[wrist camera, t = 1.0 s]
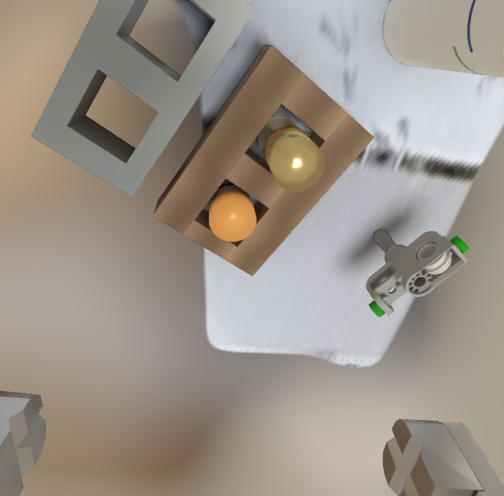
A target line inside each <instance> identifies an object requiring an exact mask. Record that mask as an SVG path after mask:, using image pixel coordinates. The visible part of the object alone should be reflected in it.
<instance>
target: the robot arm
mask: <svg viewBox="0 0 504 496" xmlns="http://www.w3.org/2000/svg"><path fill="white" fill-rule="evenodd" d="M42 407H43V404H42V400H41V396H40V395H36V394H26V393H16V392H6V391H0V496H19V495H20V493H21V491H22V490H23V487H24V486H23V481H22V476H23V475H24V474H25V473H26V472H28V471H29V470H30V469H31V468H33V467H34V466H35V464H36V462H37V460H38V458H39V456H40V454H41V452H42V449H43V445H44V442H45V439H46V422H45V420H44V419H43V418H42V417H41V416H40V415H39V412H40V410H41V408H42ZM392 431H393V434H394V436H395V437H394V438H392V439H391V440H389V441H388V442H386V445H385V448H384V451H383V469H384V474H385V477H386V480H387V483H388V486H389V487H390V488H391V489H392V490H393V491H394V492H395V493H396V494H397V495H398V496H504V485H503V484H502V482H501V480H500V479H499V477H498V475H497V474H496V472H495V470H494V469H493V467H492V466H491V464H490V463H489V461H488V459H487V458H486V456H485V455H484V453H483V451H482V450H481V448H480V447H479V445H478V444H477V442H476V440H475V439H474V437H473V436H472V434H471V432H470V431H469V429H468V428H467V427H466V426H465V425H464V424H463V423H454V422H439V421H428V420H410V419H399V420H397V421H396V422H395V424H394V426H393V428H392Z"/></svg>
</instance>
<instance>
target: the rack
mask: <svg viewBox="0 0 504 496" xmlns="http://www.w3.org/2000/svg"><path fill="white" fill-rule="evenodd" d="M189 1H190V2H191V3H192V4H194V5H195V6H196V7H197V8H198V9H199V10H200V11H202V12H203V13H204V14H205V15H206V16H207V17H208V18H210V19H211V20H212V21H213V22H214V24H213V26H212V28H211V29H210V31H209V32H208V34H207V36H206V37H205V39H204V40H203V42H202V44H201V45H200V47H199V48H198V50H197V52H196V53H195V55H194V56H193V58H192V60H191V61H190V63H189V65H188V66H187V68H186V69H185V71H184V72H183V74H182V75H181V76H180V75H179V74H177V73H176V72H175V71H174V70H172V69H171V68H170V67H168V66H167V65H166V64H165V63H163V62H162V61H161V60H159V59H158V58H157V57H155V56H154V55H153V54H152V53H150V52H149V51H148V50H146V49H145V48H144V47H143V46H141V45H140V44H139V43H138V42H136V41H135V40H134V39H132V38H131V37H130V36H129V35H130V33H131V31H132V29H133V28H134V26H135V24H136V22H137V20H138V19H139V17H140V15H141V13H142V11H143V9H144V7H145V6H146V4H147V2H148V0H99V2H98V4H97V6H96V8H95V10H94V12H93V14H92V16H91V18H90V20H89V22H88V24H87V26H86V28H85V30H84V32H83V34H82V36H81V38H80V40H79V42H78V44H77V46H76V48H75V50H74V52H73V54H72V56H71V58H70V59H69V61H68V64H67V65H66V67H65V70H64V72H63V73H62V76H61V77H60V79H59V82H58V83H57V86H56V87H55V89H54V91H53V93H52V95H51V97H50V99H49V101H48V103H47V105H46V107H45V109H44V111H43V113H42V115H41V117H40V119H39V121H38V123H37V125H36V127H35V129H34V131H33V133H32V135H31V137H33V138H35V139H36V140H38V141H40V142H41V143H43V144H45V145H46V146H48V147H50V148H51V149H53V150H55V151H56V152H58V153H59V154H61V155H63V156H64V157H66V158H68V159H69V160H71V161H73V162H74V163H76V164H78V165H79V166H81V167H82V168H84V169H86V170H87V171H89V172H91V173H92V174H94V175H96V176H97V177H99V178H101V179H102V180H104V181H106V182H107V183H109V184H111V185H112V186H114V187H116V188H117V189H119V190H121V191H122V192H124V193H126V194H127V195H129V196H130V197H133V196H134V194H135V193H136V191H137V189H138V188H139V186H140V185H141V183H142V182H143V180H144V179H145V177H146V176H147V174H148V173H149V171H150V170H151V168H152V167H153V165H154V164H155V162H156V161H157V159H158V157H159V156H160V155H161V153H162V152H163V150H164V148H165V147H166V145H167V144H168V142H169V141H170V139H171V138H172V136H173V135H174V133H175V132H176V130H177V129H178V127H179V126H180V124H181V123H182V121H183V120H184V118H185V116H186V115H187V114H188V112H189V111H190V109H191V107H192V106H193V104H194V103H195V101H196V100H197V98H198V97H199V95H200V94H201V92H202V91H203V89H204V88H205V86H206V85H207V83H208V82H209V80H210V79H211V77H212V76H213V74H214V73H215V71H216V69H217V68H218V66H219V65H220V63H221V62H222V60H223V59H224V57H225V56H226V54H227V53H228V51H229V50H230V48H231V47H232V45H233V44H234V42H235V41H236V39H237V38H238V36H239V35H240V33H241V31H242V30H243V28H244V27H245V25H246V24H247V22H248V21H249V19H250V18H251V16H252V15H253V13H254V12H255V10H256V8H255V7H254V6H253V5H252V4H251V3H249V2H248V1H247V0H189ZM107 76H109V77H110V78H112V79H113V80H114V81H116V82H117V83H118V84H120V85H121V86H123V87H124V88H125V89H127V90H128V91H130V92H131V93H132V94H134V95H135V96H136V97H138V98H139V99H141V100H142V101H143V102H145V103H146V104H148V105H149V106H151V107H152V108H153V109H155V110H156V111H157V112H158V114H157V115H156V117H155V119H154V120H153V122H152V123H151V125H150V127H149V128H148V130H147V131H146V133H145V135H144V136H143V138H142V140H141V141H140V143H139V144H138V146H137V147H136V148H134V147H133V146H131V145H130V144H128V143H126V142H125V141H124V140H122V139H121V138H119V137H117V136H116V135H114V134H113V133H111V132H110V131H108V130H107V129H105V128H104V127H102V126H100V125H99V124H98V123H96V122H95V121H93V120H92V119H90V118H89V117H87V116H86V113H87V111H88V109H89V107H90V105H91V104H92V102H93V100H94V98H95V96H96V95H97V93H98V91H99V89H100V87H101V85H102V84H103V82H104V80H105V78H106V77H107Z"/></svg>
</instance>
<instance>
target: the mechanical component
mask: <svg viewBox="0 0 504 496" xmlns="http://www.w3.org/2000/svg"><path fill="white" fill-rule="evenodd" d="M373 238H374V240H375V241H376V243H377V244H378V245H379V247H380V248H382V250H383V251H384V252H385V261H386V263H387V264H385V265H384V266H383V267H382V268H380V269H379V270H378V271H377V272H375V273H374V274H373V275H372V276H371V277H370V278H369V279H368V281H367V284H366V288H367V290H368V292H369V293H370V295H371V297H372V298H373V300H374V301H373V302H372V303H370V304H369V306H370V308H371V309H372V311H373V312H374V313H375V314H376V315H377V316H378V317H381V316H382V315H383V314H385V313H387V314H388V315H390V314H391V313H392V312H394V309H393V308H392V306H391V305H390V304H392V303H393V302H394V301H396V300H397V299H398V298H399V297H401V296H402V295H403V294H405V293H406V292H407V291H408V292H409V293H410V294H411V295H412V296H414V297H420V296H424V295H426V294H428V293H430V292H431V291H432V290H433V289H434V288H435V287H436V286H437V285H438V284H439V283H441V282H442V281H443V280H445V279H446V278H448V277H449V276H450V275H451V274H452V273H454V272H455V271H457V270H458V269H459V268H461V267H462V266H463V265H465V264H466V263H467V262H468V260H467V259H466V258H465V257H464V256H463V255H462V253H464V252H465V251H467V250H468V249H469V247H468V246H467V245H466V244H465V243H464V242H463V241H462V240H461V239H460V238H458V237H457V236H455V237H454V238H453V239H452V240H451V242H452V243H451V242H450V241H449V240H448V239H447V238H445V237H444V236H441V235H439V234H438V233H437V232H434V231H429V232H426V233H424V234H422V235H421V236H420V237H418V238H417V239H416V240H415V241H414V242H412V243H411V244H410V245H409V246H407V247H406V246H404V245H397V244H396V243H395V242H394V241H393V240H392V238H391V237H390V236H389V235H388V234H387V233H385V231H383V230H381V229H380V230H377V231H375V232H374V234H373ZM460 251H461V252H462V253H461V252H460ZM449 266H450V267H449ZM448 267H449V268H448ZM447 268H448V269H447ZM446 269H447V270H446ZM445 270H446V271H445ZM443 271H445V272H443ZM442 272H443V273H442ZM439 273H441V274H439ZM435 274H436V275H435ZM393 287H395V289H394V291H392V292H388V291H389V290H390V289H391V288H393Z"/></svg>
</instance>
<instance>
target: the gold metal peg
mask: <svg viewBox="0 0 504 496" xmlns="http://www.w3.org/2000/svg"><path fill="white" fill-rule="evenodd" d="M258 143H259V146H260V148H261V150H262V152H263V154H264V157H265V159H266V161H267V163H268V165H269V167H270V169H271V172H272V174H273V176H274V178H275V180H276V182H277V183H278V184H279V185H280V186H281V187H282V188H284V189H286V190H288V191H292V192H301V191H305V190H307V189H309V188H311V187H313V186H314V185H315V184H316V183H317V182H318V181H319V180H320V178H321V176H322V174H323V171H324V167H325V160H324V156H323V153H322V151H321V150H320V148H319V147H318V146H317V145H316V144H315V143H314V142H313V141H312V140H311V139H310V138H309V137H308V136H307V135H306V134H305V133H304V132H303V131H301V130H300V129H299V128H298V127H297V126H296V125H295V124H294V123H293V122H292V121H291V120H290V119H289V118H287V117H284V116H274V117H271V118H270V120H269V121H268V122H267V124H266V125H265V126H264V128H263V129H262V130H261V132H260V133H259V134H258Z"/></svg>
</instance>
